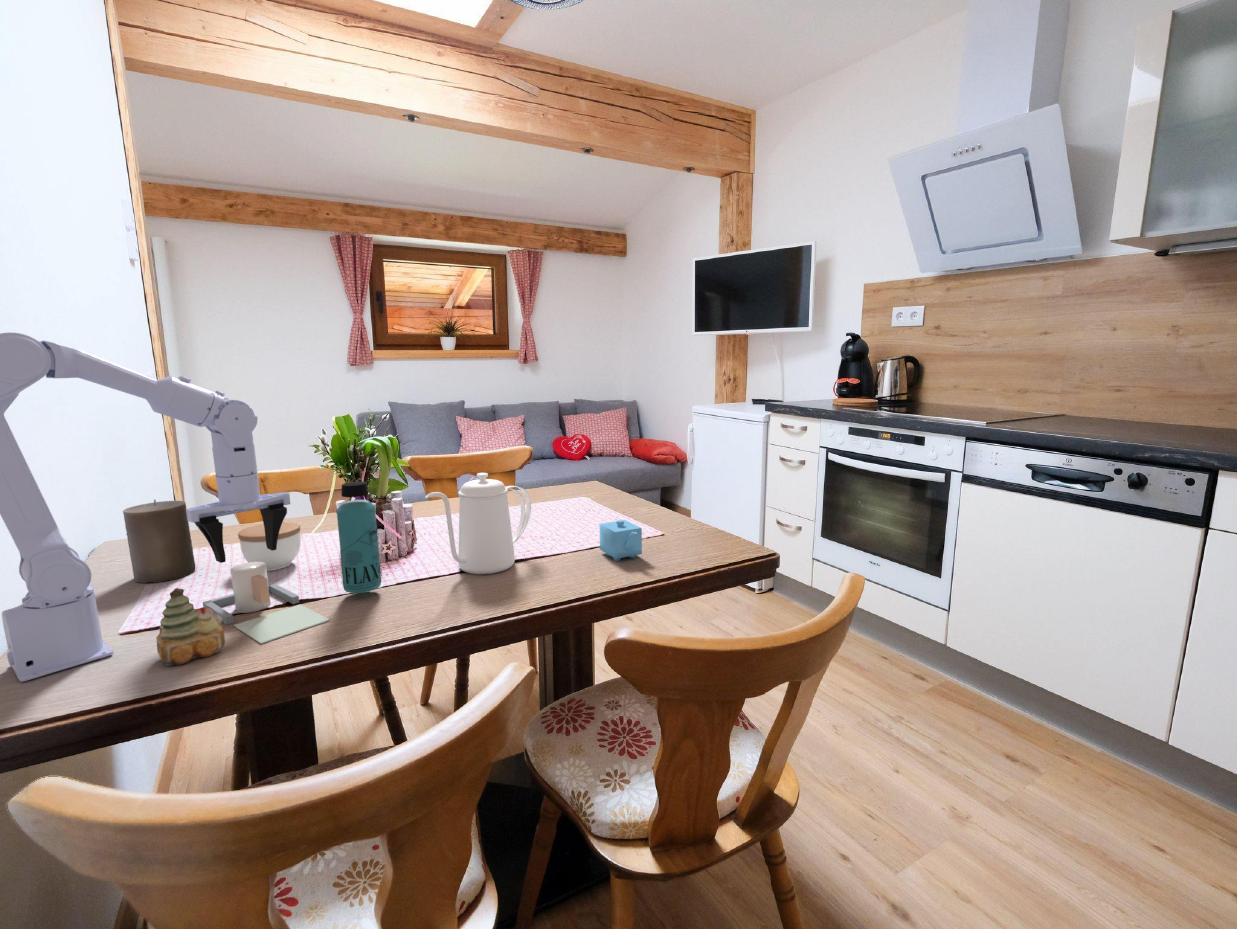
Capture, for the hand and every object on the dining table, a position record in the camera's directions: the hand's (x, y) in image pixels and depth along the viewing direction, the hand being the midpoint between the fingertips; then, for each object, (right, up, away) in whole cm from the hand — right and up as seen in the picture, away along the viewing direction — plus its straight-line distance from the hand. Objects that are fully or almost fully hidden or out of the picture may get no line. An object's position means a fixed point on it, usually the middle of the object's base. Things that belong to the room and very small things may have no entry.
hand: (247, 555), depth 99 cm
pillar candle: (-27, -7, +18) cm, 33 cm away
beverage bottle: (+17, -8, +6) cm, 20 cm away
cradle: (0, -9, +2) cm, 9 cm away
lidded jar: (-8, -6, +22) cm, 24 cm away
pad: (+9, -10, -5) cm, 14 cm away
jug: (+1, -9, +1) cm, 9 cm away
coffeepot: (+35, -6, +19) cm, 40 cm away
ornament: (+2, -12, -15) cm, 19 cm away
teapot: (+62, -4, +25) cm, 67 cm away
